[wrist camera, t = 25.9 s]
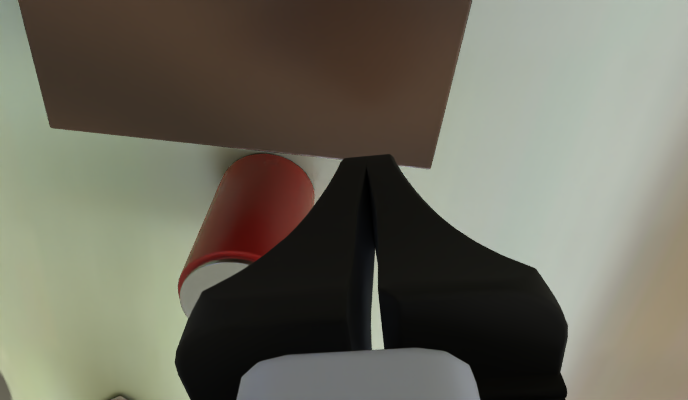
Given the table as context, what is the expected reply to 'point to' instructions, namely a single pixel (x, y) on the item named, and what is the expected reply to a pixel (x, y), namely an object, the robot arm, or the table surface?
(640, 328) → the table surface
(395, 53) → the cabinet
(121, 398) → the condiment
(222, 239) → the can
